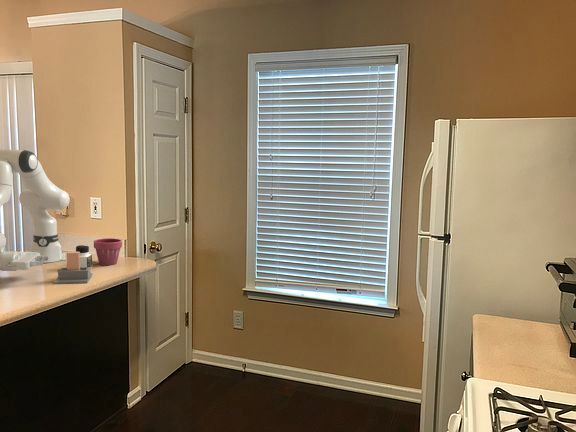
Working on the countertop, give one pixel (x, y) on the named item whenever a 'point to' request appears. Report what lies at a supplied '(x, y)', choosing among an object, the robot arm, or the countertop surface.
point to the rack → (73, 276)
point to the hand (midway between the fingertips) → (45, 260)
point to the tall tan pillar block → (73, 261)
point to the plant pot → (107, 250)
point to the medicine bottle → (84, 256)
